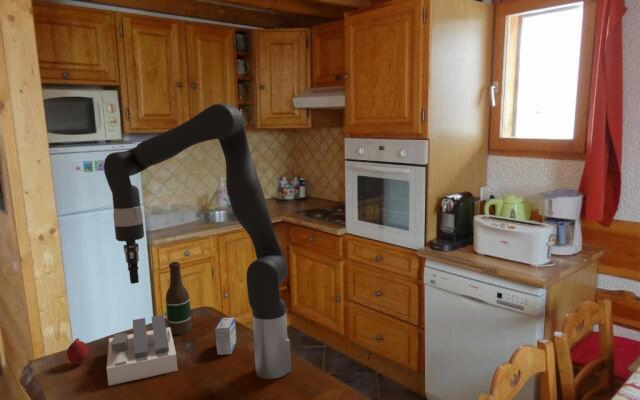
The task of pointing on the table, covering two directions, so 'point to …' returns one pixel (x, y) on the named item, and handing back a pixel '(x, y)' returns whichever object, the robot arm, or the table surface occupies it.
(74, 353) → the onion
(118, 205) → the robot arm
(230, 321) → the medicine box
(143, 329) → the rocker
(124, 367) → the board rack
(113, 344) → the grey board
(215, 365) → the table surface
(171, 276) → the beer bottle
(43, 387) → the table surface
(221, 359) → the table surface
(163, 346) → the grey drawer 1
